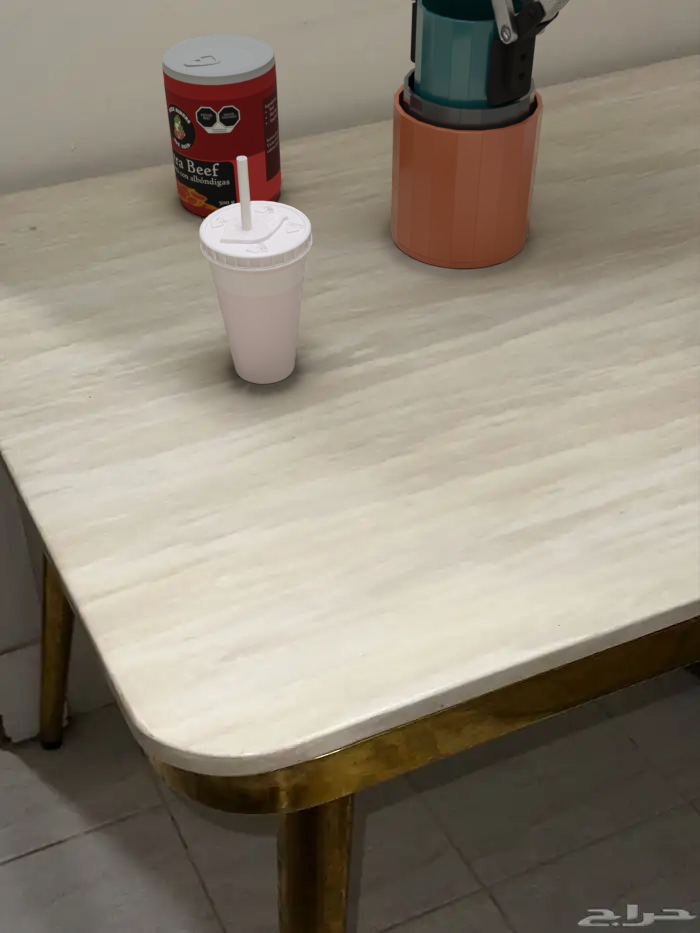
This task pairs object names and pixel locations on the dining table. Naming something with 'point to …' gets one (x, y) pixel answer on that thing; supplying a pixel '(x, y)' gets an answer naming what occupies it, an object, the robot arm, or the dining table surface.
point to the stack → (462, 189)
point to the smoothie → (258, 279)
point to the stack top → (465, 111)
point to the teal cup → (455, 51)
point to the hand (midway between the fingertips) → (468, 76)
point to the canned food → (222, 119)
